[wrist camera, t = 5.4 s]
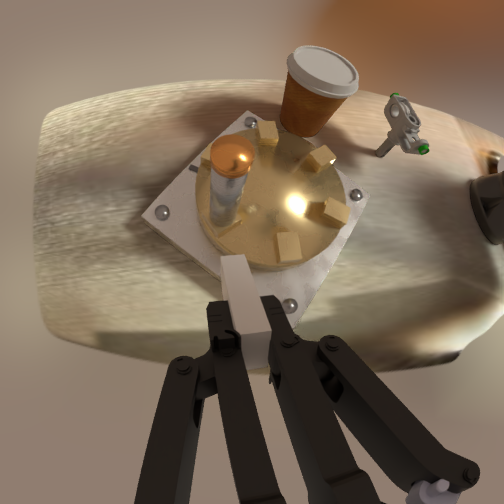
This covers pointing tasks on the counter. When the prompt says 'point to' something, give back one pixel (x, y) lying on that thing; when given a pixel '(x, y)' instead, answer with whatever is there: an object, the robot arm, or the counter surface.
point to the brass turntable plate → (269, 197)
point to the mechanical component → (402, 128)
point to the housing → (208, 256)
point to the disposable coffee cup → (315, 88)
